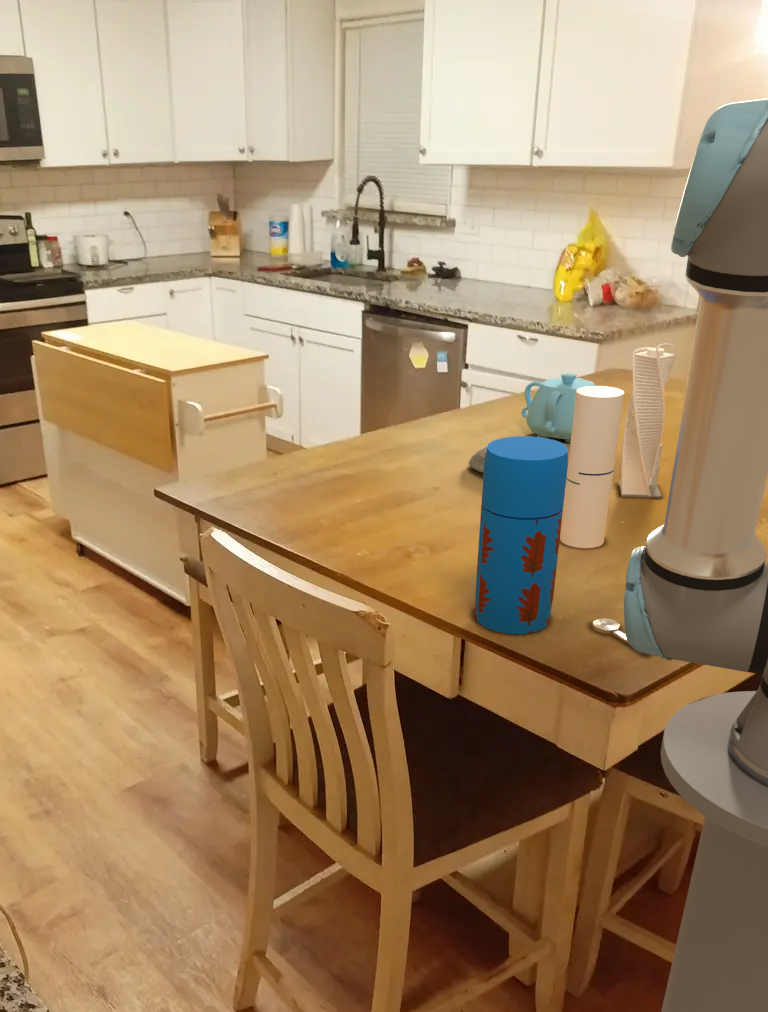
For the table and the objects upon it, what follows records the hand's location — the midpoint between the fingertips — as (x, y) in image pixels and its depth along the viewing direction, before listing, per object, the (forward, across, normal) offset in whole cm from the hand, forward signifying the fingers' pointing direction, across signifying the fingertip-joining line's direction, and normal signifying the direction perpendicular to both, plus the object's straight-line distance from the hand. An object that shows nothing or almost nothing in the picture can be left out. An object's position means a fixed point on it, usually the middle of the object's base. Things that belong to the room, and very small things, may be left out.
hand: (735, 424), depth 132 cm
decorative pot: (+25, -31, -71) cm, 81 cm away
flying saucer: (+25, -6, -58) cm, 63 cm away
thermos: (+25, +32, -5) cm, 41 cm away
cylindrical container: (+25, +5, -22) cm, 33 cm away
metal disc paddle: (+24, +23, +8) cm, 34 cm away
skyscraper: (+25, -19, -35) cm, 47 cm away
